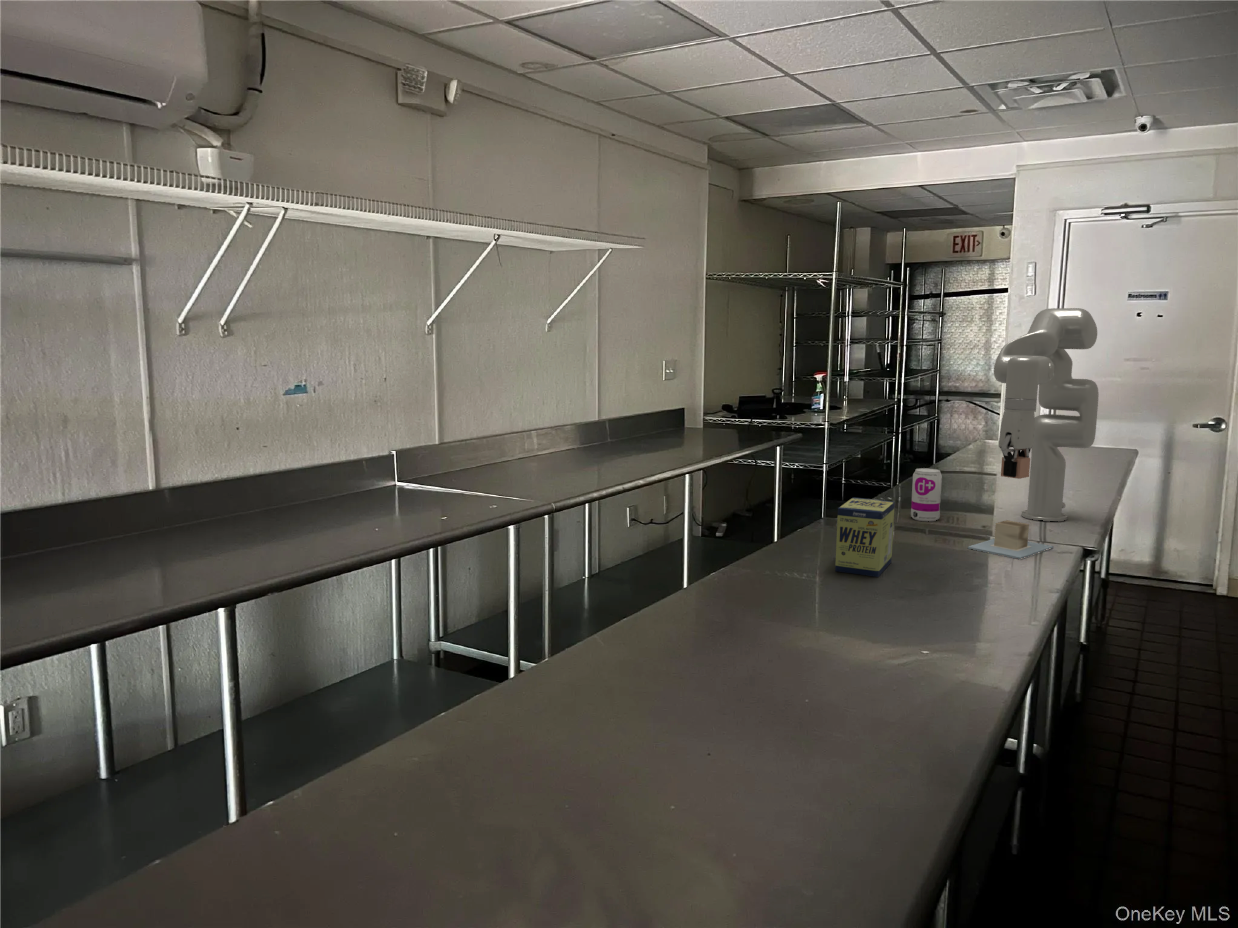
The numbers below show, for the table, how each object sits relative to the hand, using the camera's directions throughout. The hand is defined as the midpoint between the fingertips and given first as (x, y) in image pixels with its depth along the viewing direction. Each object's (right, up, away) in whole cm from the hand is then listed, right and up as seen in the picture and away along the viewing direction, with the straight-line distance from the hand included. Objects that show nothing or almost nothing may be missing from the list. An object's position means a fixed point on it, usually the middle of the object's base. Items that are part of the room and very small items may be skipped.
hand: (1015, 474), depth 230 cm
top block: (0, -1, 0) cm, 1 cm away
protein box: (-43, -22, -15) cm, 51 cm away
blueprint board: (0, -20, +3) cm, 20 cm away
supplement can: (-10, -14, +38) cm, 42 cm away
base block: (0, -19, +3) cm, 19 cm away
